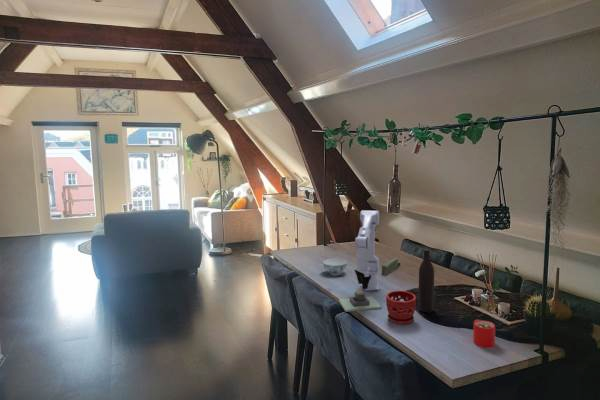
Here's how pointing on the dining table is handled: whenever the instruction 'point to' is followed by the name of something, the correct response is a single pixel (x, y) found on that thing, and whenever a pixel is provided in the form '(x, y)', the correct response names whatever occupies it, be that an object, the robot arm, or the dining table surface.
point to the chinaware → (335, 266)
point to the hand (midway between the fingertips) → (362, 286)
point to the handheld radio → (390, 266)
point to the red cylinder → (484, 333)
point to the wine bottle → (426, 284)
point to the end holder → (359, 304)
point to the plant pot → (400, 307)
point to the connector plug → (359, 296)
